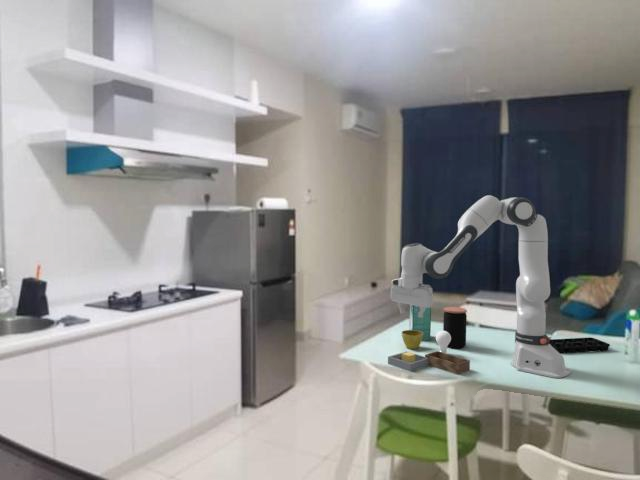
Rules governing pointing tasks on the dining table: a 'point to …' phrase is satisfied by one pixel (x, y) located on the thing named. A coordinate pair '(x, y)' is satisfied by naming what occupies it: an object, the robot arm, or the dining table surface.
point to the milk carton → (420, 321)
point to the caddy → (448, 362)
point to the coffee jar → (455, 326)
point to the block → (408, 357)
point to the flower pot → (412, 338)
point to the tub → (397, 361)
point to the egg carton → (578, 345)
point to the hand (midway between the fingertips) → (411, 315)
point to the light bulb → (443, 340)
